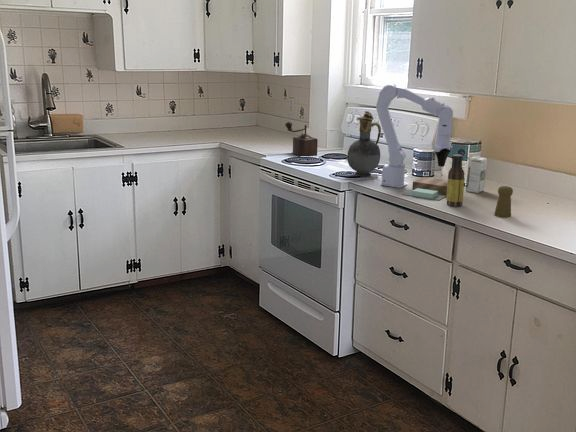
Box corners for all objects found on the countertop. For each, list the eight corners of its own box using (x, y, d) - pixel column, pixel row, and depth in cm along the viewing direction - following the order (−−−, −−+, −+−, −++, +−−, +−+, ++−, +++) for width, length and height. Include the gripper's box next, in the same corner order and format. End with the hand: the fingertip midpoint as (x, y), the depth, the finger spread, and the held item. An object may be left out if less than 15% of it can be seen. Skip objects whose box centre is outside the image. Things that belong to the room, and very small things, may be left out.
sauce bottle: (458, 202, 254) (462, 153, 248) (465, 206, 248) (470, 156, 242) (442, 203, 252) (447, 153, 247) (449, 207, 246) (454, 156, 241)
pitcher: (343, 175, 300) (345, 111, 292) (369, 170, 313) (372, 109, 305) (360, 179, 293) (364, 113, 285) (386, 174, 305) (390, 111, 297)
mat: (402, 194, 265) (402, 194, 265) (410, 190, 273) (410, 190, 272) (438, 200, 257) (438, 199, 257) (446, 196, 264) (446, 195, 264)
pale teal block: (417, 188, 267) (417, 192, 268) (411, 190, 262) (411, 195, 263) (438, 191, 263) (437, 195, 263) (432, 193, 258) (432, 198, 258)
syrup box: (471, 189, 278) (474, 156, 274) (484, 191, 274) (487, 157, 270) (465, 191, 274) (468, 157, 270) (478, 193, 270) (482, 159, 266)
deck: (412, 190, 273) (412, 181, 272) (422, 185, 282) (423, 176, 281) (446, 195, 265) (446, 186, 264) (455, 190, 274) (456, 181, 273)
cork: (491, 215, 236) (494, 186, 233) (499, 212, 240) (502, 184, 237) (506, 218, 232) (509, 189, 229) (514, 215, 236) (517, 186, 233)
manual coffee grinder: (307, 152, 360) (308, 120, 355) (317, 155, 351) (318, 122, 346) (283, 154, 353) (283, 121, 348) (292, 157, 344) (293, 124, 339)
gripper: (447, 137, 263) (444, 170, 267) (458, 133, 275) (456, 164, 278) (430, 136, 267) (428, 168, 270) (443, 132, 278) (440, 162, 282)
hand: (441, 166), depth 275 cm, fingers closed
